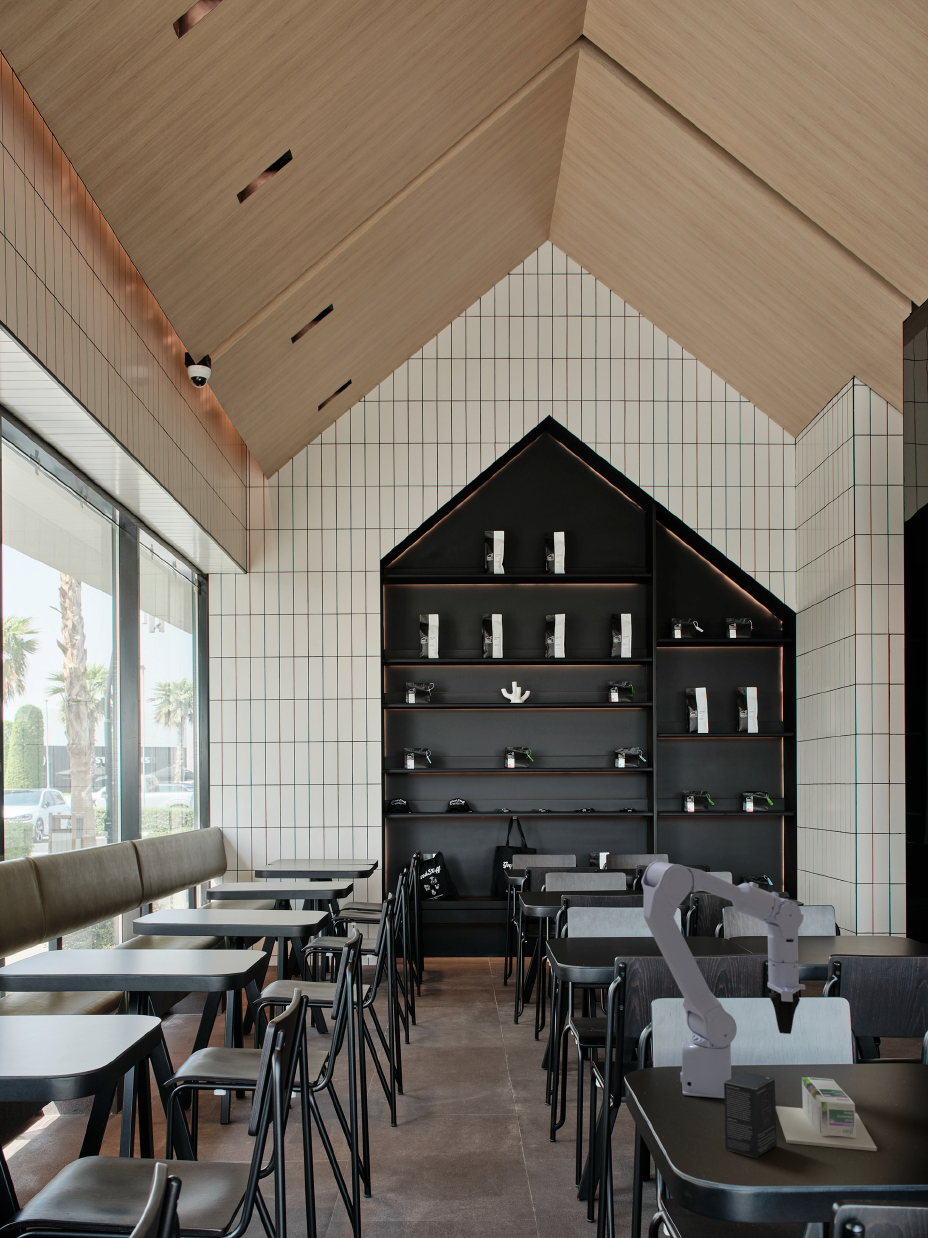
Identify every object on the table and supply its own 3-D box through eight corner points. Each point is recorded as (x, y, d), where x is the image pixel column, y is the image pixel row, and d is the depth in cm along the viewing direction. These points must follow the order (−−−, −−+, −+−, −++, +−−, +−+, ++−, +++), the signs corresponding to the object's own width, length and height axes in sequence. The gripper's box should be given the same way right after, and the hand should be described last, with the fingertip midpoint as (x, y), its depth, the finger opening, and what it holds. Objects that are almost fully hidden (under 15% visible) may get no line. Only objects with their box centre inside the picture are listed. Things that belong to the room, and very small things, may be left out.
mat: (786, 1143, 167) (786, 1140, 167) (775, 1109, 184) (775, 1106, 184) (876, 1151, 164) (876, 1148, 164) (856, 1116, 181) (856, 1113, 181)
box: (745, 1138, 169) (744, 1071, 170) (777, 1146, 165) (776, 1078, 167) (723, 1150, 163) (722, 1080, 164) (757, 1159, 159) (755, 1088, 161)
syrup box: (833, 1078, 183) (855, 1101, 168) (834, 1113, 181) (857, 1140, 167) (801, 1076, 183) (820, 1099, 169) (802, 1111, 182) (821, 1137, 168)
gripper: (808, 968, 192) (810, 1043, 190) (800, 956, 206) (802, 1026, 204) (769, 966, 194) (771, 1040, 191) (764, 953, 208) (766, 1023, 205)
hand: (784, 1033), depth 198 cm, fingers closed
